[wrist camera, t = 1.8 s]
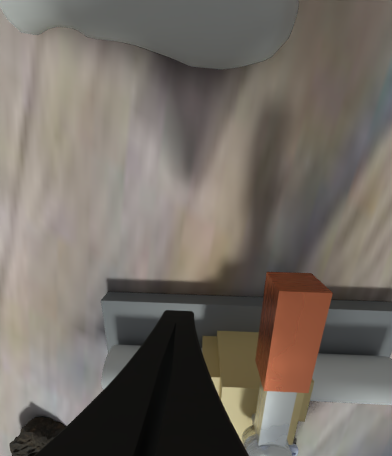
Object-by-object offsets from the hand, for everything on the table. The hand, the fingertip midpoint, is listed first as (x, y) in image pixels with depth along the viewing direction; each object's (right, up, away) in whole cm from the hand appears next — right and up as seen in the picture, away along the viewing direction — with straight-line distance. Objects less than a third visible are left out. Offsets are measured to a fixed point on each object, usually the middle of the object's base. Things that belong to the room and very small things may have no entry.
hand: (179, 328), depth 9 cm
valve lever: (+5, -3, +1) cm, 6 cm away
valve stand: (+5, -6, +9) cm, 12 cm away
